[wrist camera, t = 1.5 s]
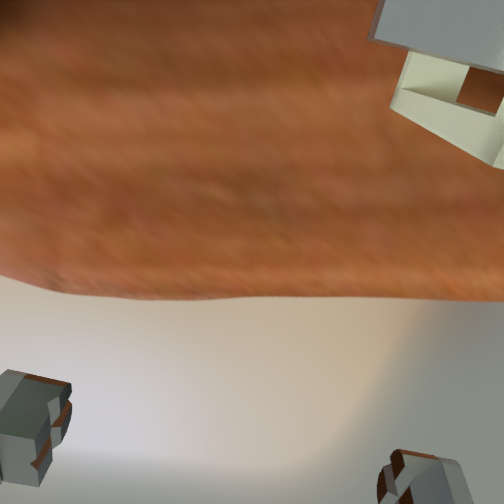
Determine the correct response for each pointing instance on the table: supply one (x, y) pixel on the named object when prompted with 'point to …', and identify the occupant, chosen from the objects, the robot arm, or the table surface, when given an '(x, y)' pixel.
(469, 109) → the c-shaped bracket
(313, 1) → the table surface
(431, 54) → the hook stand
